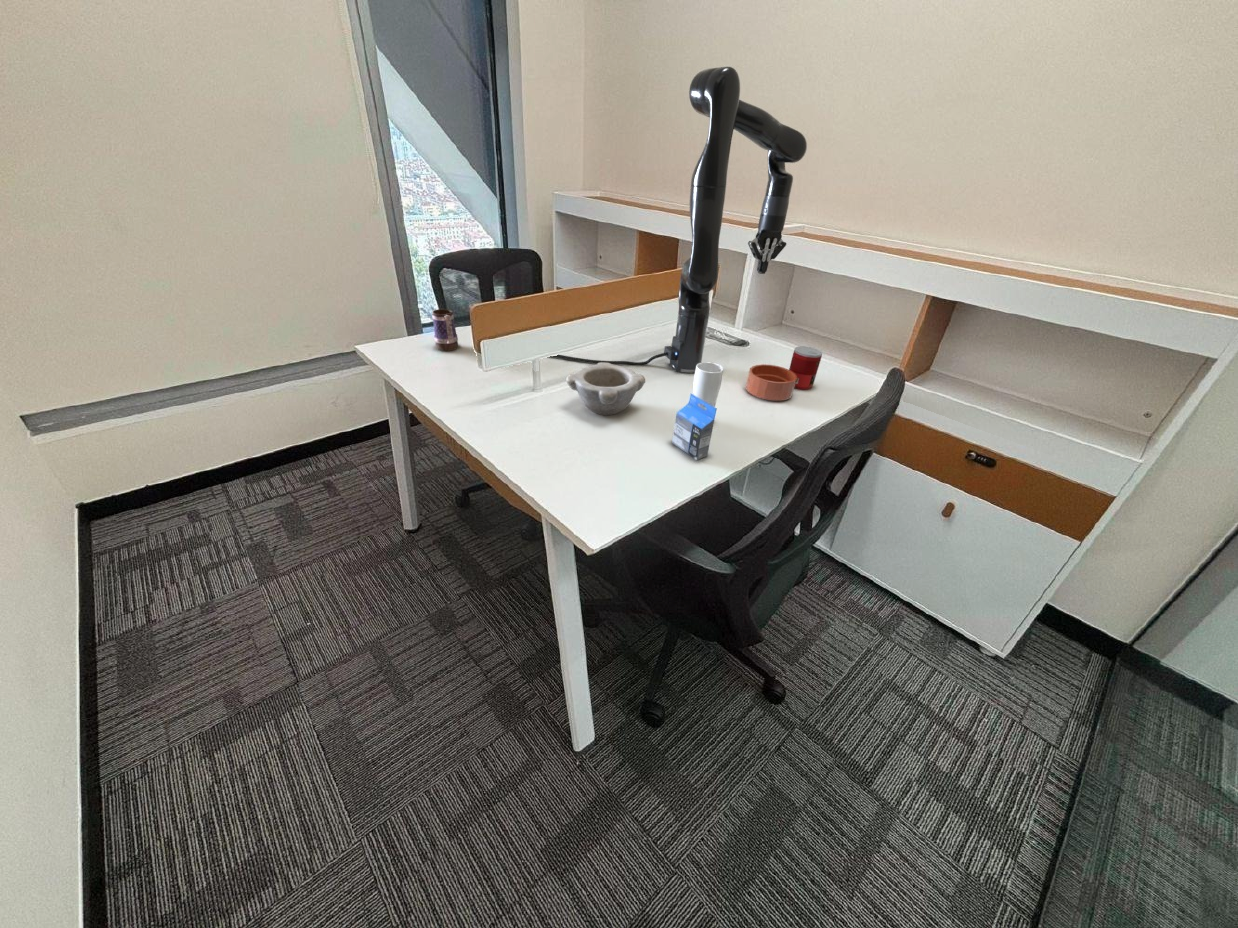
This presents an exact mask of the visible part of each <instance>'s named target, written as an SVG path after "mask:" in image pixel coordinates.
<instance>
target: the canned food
mask: <svg viewBox="0 0 1238 928" xmlns="http://www.w3.org/2000/svg"><path fill="white" fill-rule="evenodd" d="M822 357H823V352H822V351H821V350H820V349H818V348H816V347H811V346H808V345H807V346H804V345H800V346H799V345H798V346H796V347H795V348H794V350H793V352H792V357H791V361H790V363H789V364H790V365H789V369H788V370H790V371H792V372H793V373H795V374H796V376H797V380H796V383H795V387H794V389H797V390H807V391H808V390H810V389H812V387H813V386H814V385H815V380H816V377H817V375H818V374H817V373H818V370H819V368H820V363H821V360H822Z"/></svg>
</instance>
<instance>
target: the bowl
mask: <svg viewBox="0 0 1238 928" xmlns="http://www.w3.org/2000/svg"><path fill="white" fill-rule="evenodd" d="M796 380H797V376H796V374H795V373H793V372H792V371H790V370H789V369H788V368H785V367H783V366H779V365H776V364H775V365H774V364H762V363H761V364H756V365H752V366H751V367H749V371H748V375H747V379H746V383H745V389H746V391H747V392H748V393H749V394H751V395H752V396H755V397H757V398H759V399H762V400H767V401H773V402H774V401H775V402H776V401H777V402H778V401H779V402H780V401H786V400H789V399H791V398H792V396H793V394H794V390H795V388H794V387H795V383H796Z"/></svg>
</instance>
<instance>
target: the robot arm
mask: <svg viewBox="0 0 1238 928" xmlns="http://www.w3.org/2000/svg"><path fill="white" fill-rule="evenodd" d="M688 90H689V91H688V95H689V96H688V97H689V98H688V99H689V101H690V105H691V107H692V108H693V110H694V111H695V112H696V113H698V114H699V115H702V116H704V117H707V118H709V125H708V134H707V138H706V142H705V145H704V147H703V150H702V152H701V154H700V156H699V158H698V160H697V162H696V164H695V167H694V169H693V172H692V175H691V180H690V190H689V219H690V220H689V221H690V227H691V228H690V229H691V239H692V240H691V241H692V243H691V252H690V257H689V258H687V260H686V261H684V264H683V265H682V268H681V272H680V279H679V288H678V312H677V321H676V327H675V335H673V336H672V339H671V345H669V346H668V345H666V346H664V348H663V352H661V353H657V354H655V355H653V356H651V357H649V358H648V359H647V360H645V361H639V362H638V361H637V362H635V361H628V360H601V359H600V360H599V359H590V358H589V359H588V358H581V357H575V356H569V355H564V354H558V355H557V356H553V357H552V358H556V359H557V358H559V359H564V360H568V361H576V362H581V363H582V362H583V363H589V364H598V363H601V362H605V363H610V364H613V365H628V366H644V365H648V364H650V363H651V362H653V361H654V360H656V359H658V358H662V357H666V358H667V359H668V360H669V364H668V365H669V367H671V368H672V369H673V370H674V371H675V372H676V373H685V374H695V370H696V365H697V364H699V363H702V362H703V355H704V349H705V343H706V336H707V330H708V325H709V319H710V312H711V305H710V292H711V291H712V290H714V288H715V286H716V284H717V282H718V278H719V248H720V247H719V246H720V245H719V244H720V236H721V231H722V230H721V229H722V222H723V215H724V207H725V201H726V192H727V182H728V181H727V180H728V171H729V163H730V155H731V147H732V140H733V136H734V130H735V131H736V132H737V133H739V134H741V135H743V136H744V137H745V138H747V139H748V140H750V142H752V143H754V144H755V145H756V146H758V147H760V148H761V149H762V150H765V151H767V184H766V188H765V193H764V198H763V201H762V204H761V210H760V213H759V214H760V215H759V220H758V224H757V232H756V234H755V237H754V238H753V239H752V240H749V241H748V242H747V245H748V247H749V249H750V252H751V254H752V256H753V258H754V259H757V260H758V261H757V262H758V263H757V266H756V271H757V274H759V275H765V274H766V272H767V271H768V267H769V264H770V263H769V262H770V261H772V260H775V259H776V258H777V257H778V256H779V255H780V254H781V253H782V251H783V250H784V249H785V247H786V246H787V242H785V241H784V240H783V235H782V232H783V231H784V228H785V223H786V219H787V215H788V210H789V204H790V197H791V192H792V187H793V183H794V175H793V174H791V173H790V172H788V171H787V170H786V164H795V163H798V162H799V161H801V160H802V159H803V157H804V156H806V153H807V150H808V143H807V142H808V141H807V139H806V137H805V135H804V134H803V133H802V132H801V131H799V130H796V129H795V128H793V127H791V126H788V125H786V124H783V123H781V122H780V121H779V120H778V119H777V118H775V117H774V116H773V115H772V114H771V113H769V112H768V111H766V110H764V109H763V108H761V107H758V106H756V105H753V104H751V103H748V102H746V101H743V100H742V99H741V98H740V97H741V79H740V76H739V73H738V71H737V70H736V69H735V68H734V67H732V66H720V67H712V68H706V69H703V70H701V71H699V72H697V73H696V74H695V76H694V77H693V78H692V80H691V83H690V85H689V89H688Z"/></svg>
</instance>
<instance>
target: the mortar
mask: <svg viewBox="0 0 1238 928" xmlns="http://www.w3.org/2000/svg"><path fill="white" fill-rule="evenodd" d="M565 382H566V384H567V386H568V387H569V388H570V389H571V390H573V391H576V392H577V394H578V395H579V398H580V400H581V401H582V403H583V404H584V406H585V407H586V408H587V409H588V411H591V412H592V413H595V414H598V415H605V416H610V415H616V414H619V413H621V412H623V411H624V410H625V409H626V408H627V407H628V406H629V405H630V404H631V402H632V401H633V398H634V397H635V396H636V393H638V392H639V391H640V390H641V389H643V387H644V385H645V383H646V378H645V376H644V375H643V374H642V373H637V372H636V371H634V370H632V369H631V368H628V367H626V366H623V365H619V364H610V363H605V362H601V363H595V364H592V365H588V366H585V367H583V368H581V369H579V370H577V371H575V373H569V375H567V376H566V378H565Z"/></svg>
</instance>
